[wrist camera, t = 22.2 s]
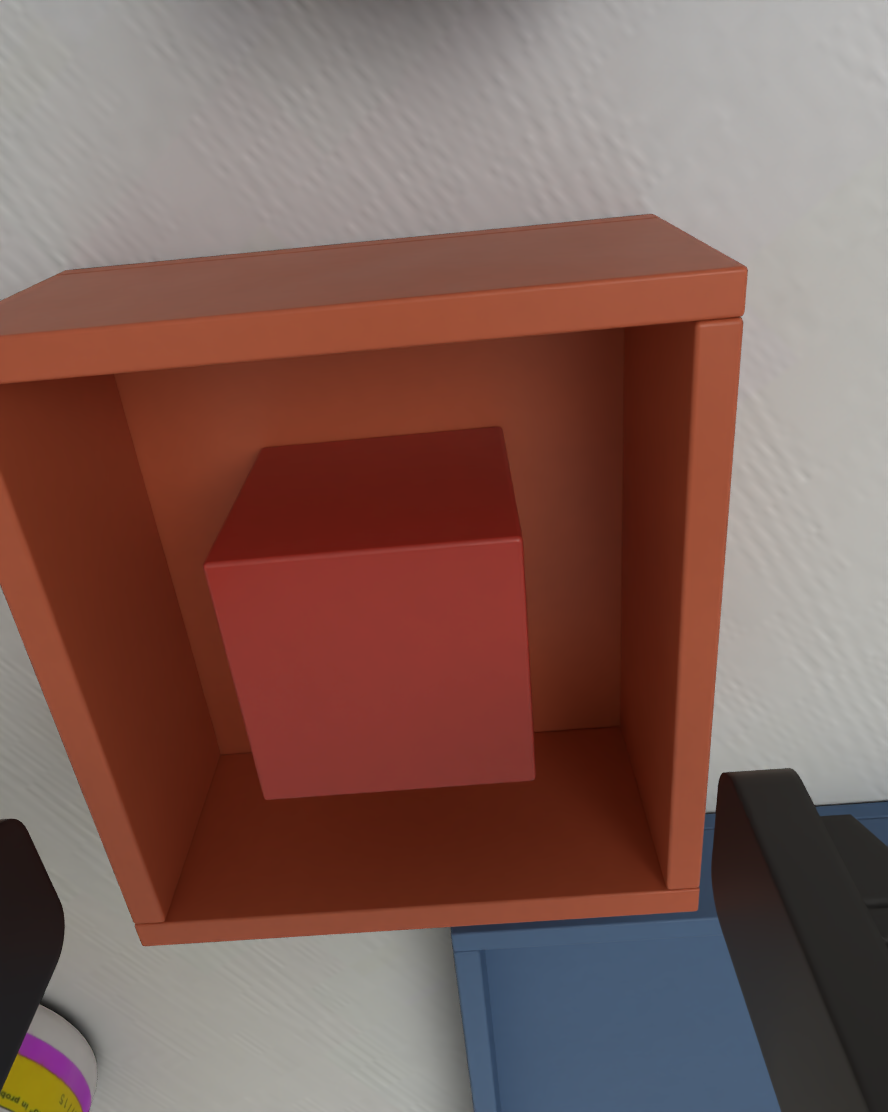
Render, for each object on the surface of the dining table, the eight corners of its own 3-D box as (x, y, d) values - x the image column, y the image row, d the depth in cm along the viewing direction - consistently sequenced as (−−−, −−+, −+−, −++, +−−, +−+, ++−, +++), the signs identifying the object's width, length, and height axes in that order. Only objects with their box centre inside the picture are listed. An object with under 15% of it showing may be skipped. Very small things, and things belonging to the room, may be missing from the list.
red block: (260, 446, 16) (200, 564, 12) (502, 424, 16) (523, 537, 12) (302, 646, 18) (263, 802, 14) (515, 629, 18) (537, 782, 14)
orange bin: (63, 270, 15) (-98, 345, 10) (655, 213, 14) (750, 265, 10) (207, 760, 20) (141, 947, 16) (641, 729, 20) (698, 912, 15)
